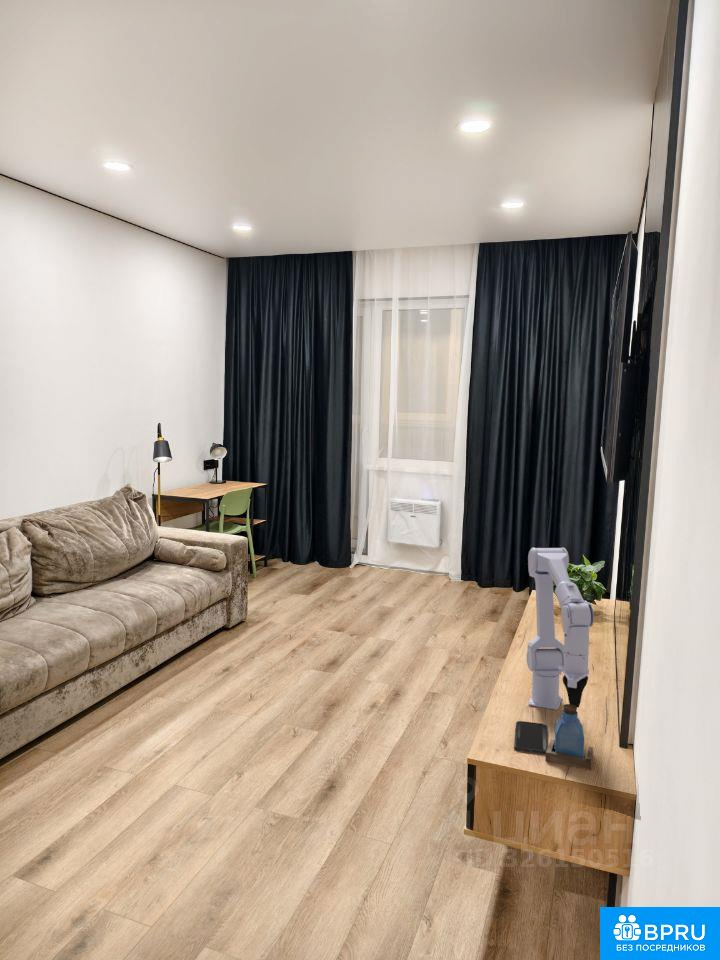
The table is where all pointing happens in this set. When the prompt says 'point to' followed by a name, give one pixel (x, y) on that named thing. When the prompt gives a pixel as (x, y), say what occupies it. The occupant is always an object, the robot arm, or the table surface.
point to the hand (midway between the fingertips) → (574, 705)
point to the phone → (530, 737)
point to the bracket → (568, 757)
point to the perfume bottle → (569, 733)
